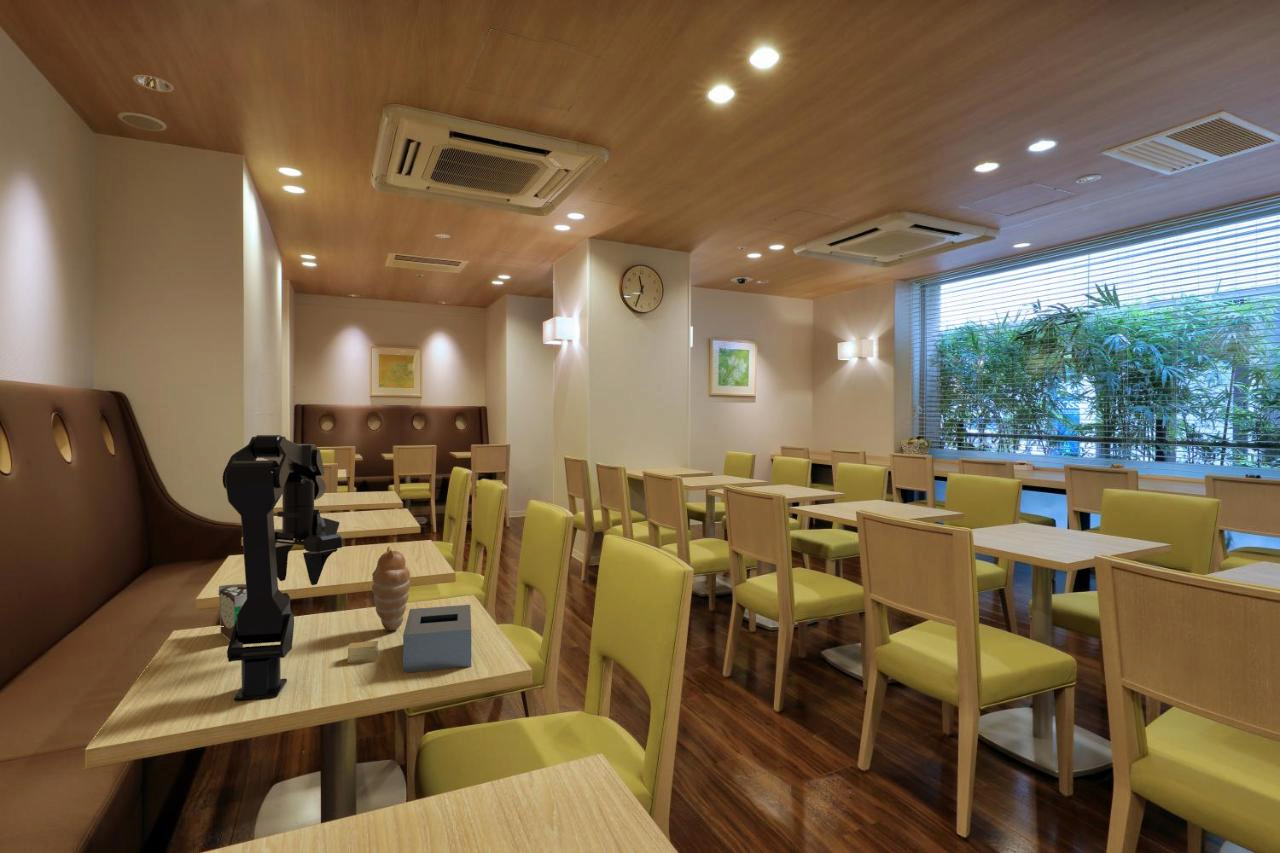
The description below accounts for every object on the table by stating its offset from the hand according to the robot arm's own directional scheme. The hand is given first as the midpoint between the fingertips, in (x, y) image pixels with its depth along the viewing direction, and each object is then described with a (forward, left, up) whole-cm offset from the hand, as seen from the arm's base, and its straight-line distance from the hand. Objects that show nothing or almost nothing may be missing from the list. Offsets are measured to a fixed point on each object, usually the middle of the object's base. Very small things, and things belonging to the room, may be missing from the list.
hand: (298, 582), depth 129 cm
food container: (+10, +13, -13) cm, 21 cm away
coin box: (-12, -28, -13) cm, 33 cm away
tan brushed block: (-11, -14, -13) cm, 22 cm away
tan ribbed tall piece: (+5, -17, -13) cm, 22 cm away
